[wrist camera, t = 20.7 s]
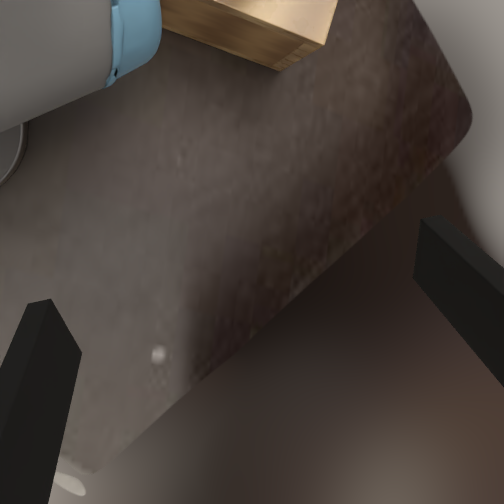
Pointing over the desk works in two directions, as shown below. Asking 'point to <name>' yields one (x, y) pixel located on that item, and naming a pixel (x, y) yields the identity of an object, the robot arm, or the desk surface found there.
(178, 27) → the shelf
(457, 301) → the robot arm
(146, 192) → the desk surface
